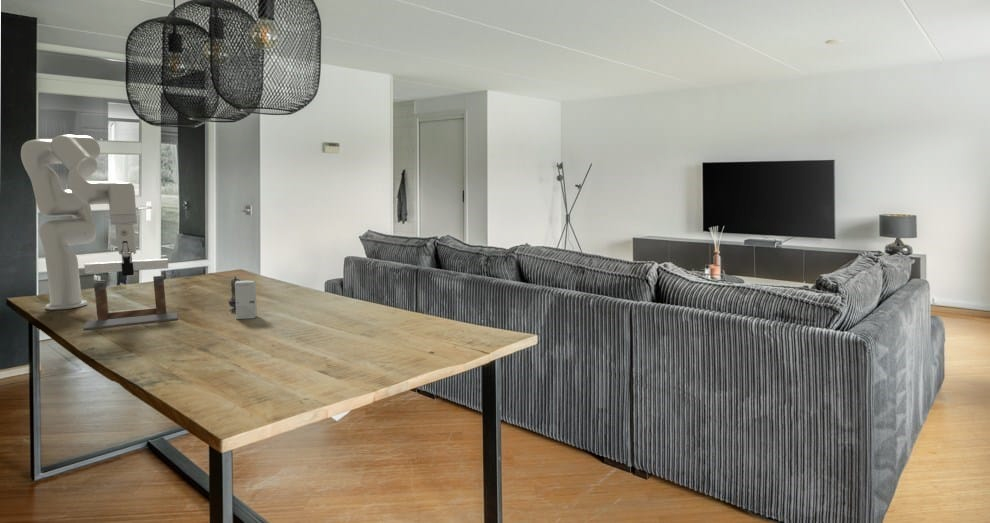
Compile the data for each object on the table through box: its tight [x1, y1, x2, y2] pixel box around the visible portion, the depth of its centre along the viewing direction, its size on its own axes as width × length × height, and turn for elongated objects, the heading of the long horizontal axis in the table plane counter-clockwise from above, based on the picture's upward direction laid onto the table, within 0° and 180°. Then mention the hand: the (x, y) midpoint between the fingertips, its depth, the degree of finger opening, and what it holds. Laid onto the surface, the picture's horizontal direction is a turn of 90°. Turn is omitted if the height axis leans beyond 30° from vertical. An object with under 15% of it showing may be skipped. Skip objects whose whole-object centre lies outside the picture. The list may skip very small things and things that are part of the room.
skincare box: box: [235, 280, 258, 320], centre depth 206 cm, size 6×4×12 cm
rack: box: [93, 275, 167, 321], centre depth 210 cm, size 20×6×12 cm, turn 119°
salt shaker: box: [227, 275, 241, 313], centre depth 217 cm, size 6×6×12 cm
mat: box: [82, 312, 179, 331], centre depth 202 cm, size 26×10×1 cm, turn 119°
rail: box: [83, 258, 169, 275], centre depth 209 cm, size 24×3×3 cm, turn 119°
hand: (128, 273), depth 209 cm, fingers closed on rail, 3 cm apart
